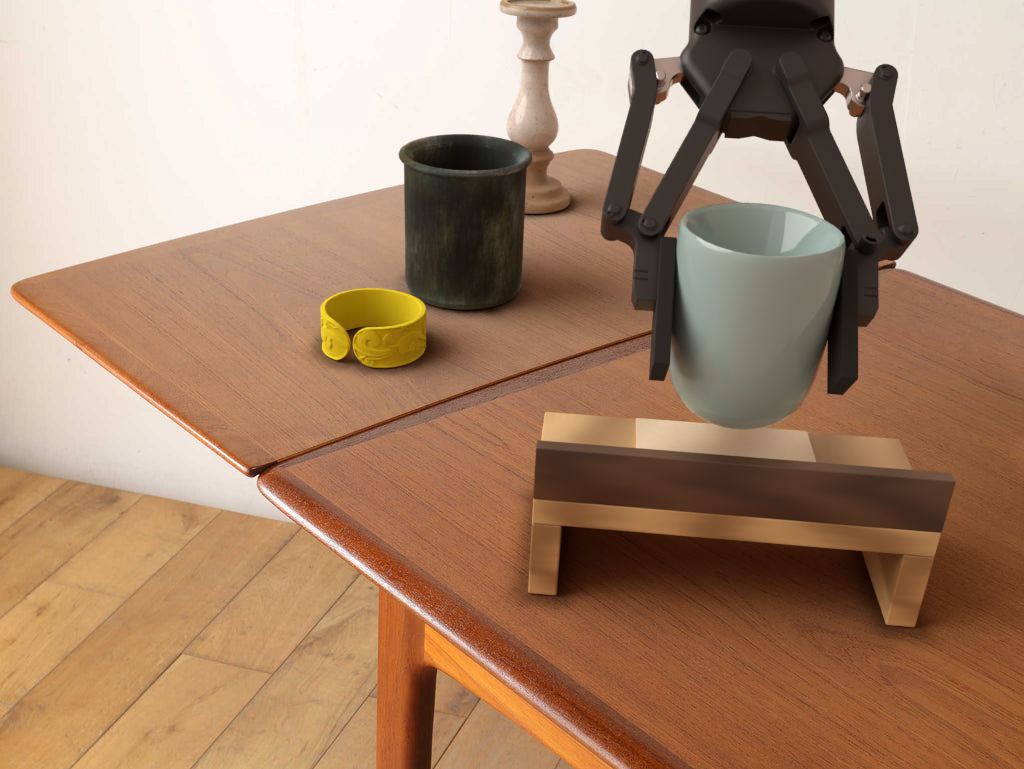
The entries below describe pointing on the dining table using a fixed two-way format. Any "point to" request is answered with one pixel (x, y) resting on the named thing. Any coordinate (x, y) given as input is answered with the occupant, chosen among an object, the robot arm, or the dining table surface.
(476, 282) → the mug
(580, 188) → the dining table surface
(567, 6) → the candle holder
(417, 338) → the bracelet
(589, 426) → the shelf
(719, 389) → the cup
